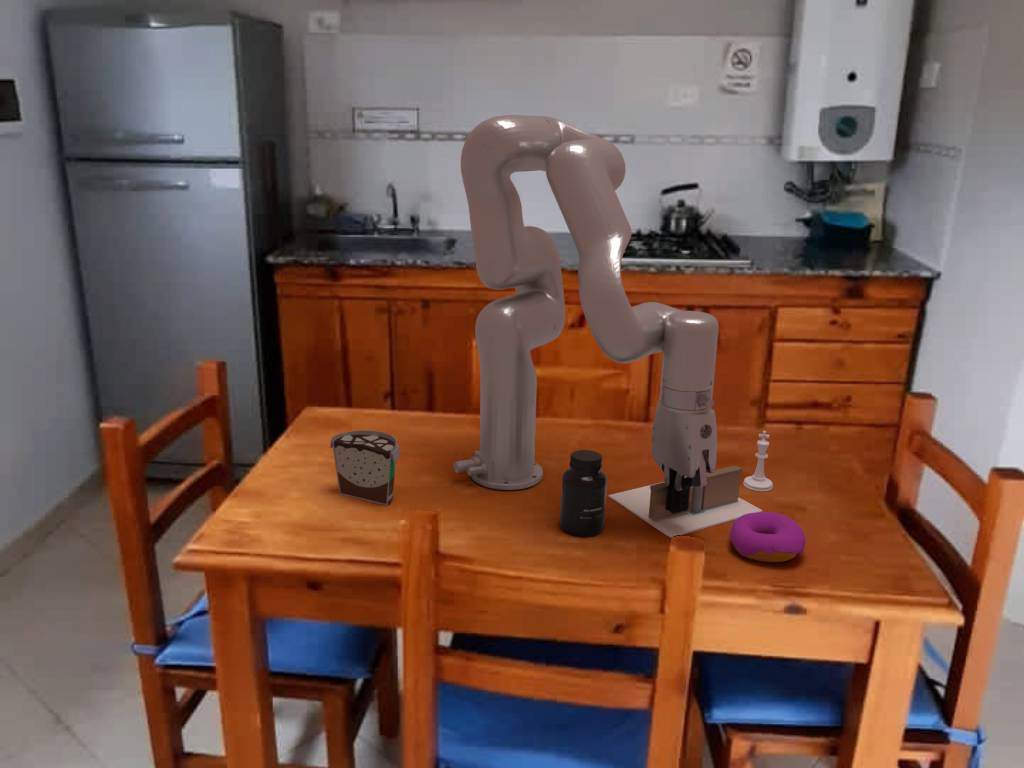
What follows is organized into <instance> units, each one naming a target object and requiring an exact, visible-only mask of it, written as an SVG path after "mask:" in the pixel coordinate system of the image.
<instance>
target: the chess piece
mask: <svg viewBox="0 0 1024 768" xmlns="http://www.w3.org/2000/svg"><path fill="white" fill-rule="evenodd" d="M758 438H762V439H759V440H757V441H756V444H757V449H758V452H755V454H754V456H755V457H757V463H756V467H755V470H754V473H753V474H752V475H749V476H746V477H745V478H744V479H743V482H742V483H743V485H744V486H743V487H745V488H747V489H749V490H750V491H751V490H752V491H756V492H768V491H771V490H772V489H773V488H774V486H773V482H772V480H770V479H769V478H767V477H766V476H765V459H767V458H768V457H769V454H768V453H766V452H767V449H768V447H769V445H770V442H769V441H768V440H766V439H770V434H767V430H762V434H761V433H759V434H758Z"/></svg>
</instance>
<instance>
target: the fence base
mask: <svg viewBox="0 0 1024 768" xmlns="http://www.w3.org/2000/svg"><path fill="white" fill-rule="evenodd" d="M742 472H743V468H742V467H740V466H738V465H735V464H734V465H731V466H727V467H723V468H718V469H715V471H714V472H713V473H707V472H706V476H707V485H705V486H700V487H697V486H693V494H692V504H691V511H689V512H685V513H681V514H678V515H674V516H670V517H666V518H662V519H658V520H655V521H653V520H651V519H650V518H649V506H650V493H651V489H650V485H651V484H649V485H646V486H641V487H637V488H633V489H628V490H624V491H620V492H615V493H611V494H607V495H608V496H607V497H608V498H609V499H611V500H612V501H614V502H616V503H617V504H619V505H620V506H621V507H622V508H624V509H626V510H627V511H629V512H631V513H632V514H633V515H635V516H637V517H638V518H640V519H641V520H643V521H644V522H646V523H647V524H649V525H650V526H652V527H654V528H655V529H656V530H658V531H659V532H661V533H662V534H663V535H666V536H667V537H669V538H670V539H673V538H674V537H673V536H676V535H680V536H682V535H686V534H690V533H693V532H696V531H701V530H704V529H705V530H706V529H708V528H711V527H714V526H718V525H721V524H725V523H729V522H733V521H736V519H737V518H739V517H740V516H742V515H745V514H748V513H756V512H764V511H763V509H760V508H759V507H757V506H755V505H753V504H751V503H750V502H747V501H746V500H744V499H743V498H740V497H739V494H740V487H741V486H740V484H741V476H742ZM663 482H664V481H662V482H661V483H663ZM659 483H660V482H658V483H654V484H652V485H655V484H659ZM676 537H677V536H676Z"/></svg>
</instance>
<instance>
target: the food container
mask: <svg viewBox="0 0 1024 768" xmlns="http://www.w3.org/2000/svg"><path fill="white" fill-rule="evenodd" d="M329 449H333V451H332V452H333V456H334V464H335V471H336V478H337V486H338V493H339V495H340V496H343V497H344V496H346V497H349V498H353V499H357V500H361V499H362V501H365V500H366V501H365V502H370V503H373V502H374V503H375V504H378V505H382V504H383V506H386V505H388V506H390V505H391V503H392V502H393V500H394V490H395V489H394V488H395V478H396V477H395V473H396V462H397V460H399V458H400V456H401V451H400V446H399V443H398V441H397V440H396V437H394V436H393V435H392V434H389V433H386V432H384V431H379V430H368V429H367V430H366V429H363V430H361V429H360V430H350V431H345V432H342V433H338V434H335V435H333V436H331V440H330V445H329ZM374 503H373V504H374Z"/></svg>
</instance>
